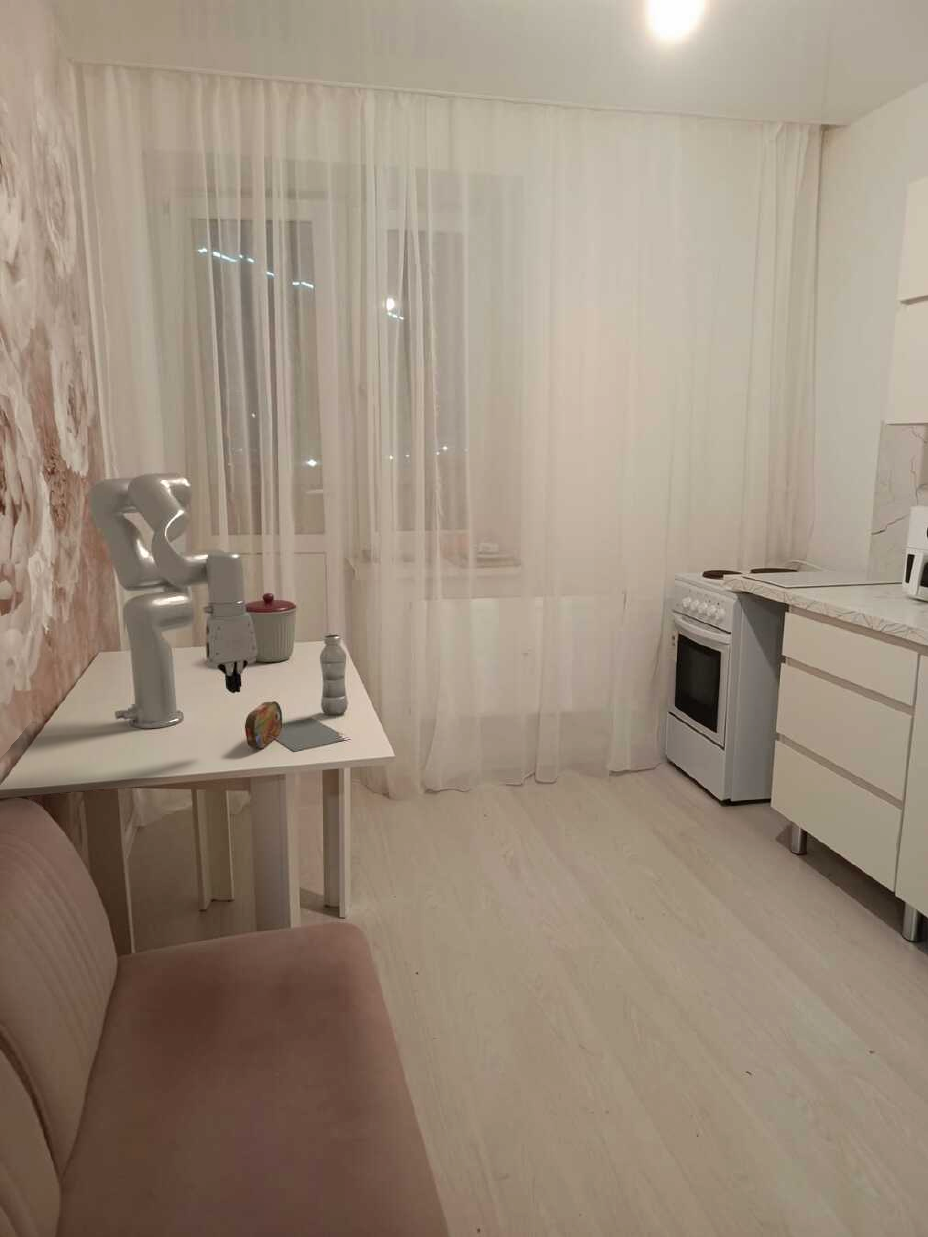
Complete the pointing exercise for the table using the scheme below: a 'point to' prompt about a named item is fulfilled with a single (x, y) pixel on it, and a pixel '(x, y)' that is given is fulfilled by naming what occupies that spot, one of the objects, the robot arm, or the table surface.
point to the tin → (263, 724)
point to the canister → (273, 628)
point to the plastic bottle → (333, 676)
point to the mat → (306, 734)
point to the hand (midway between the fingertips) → (234, 691)
